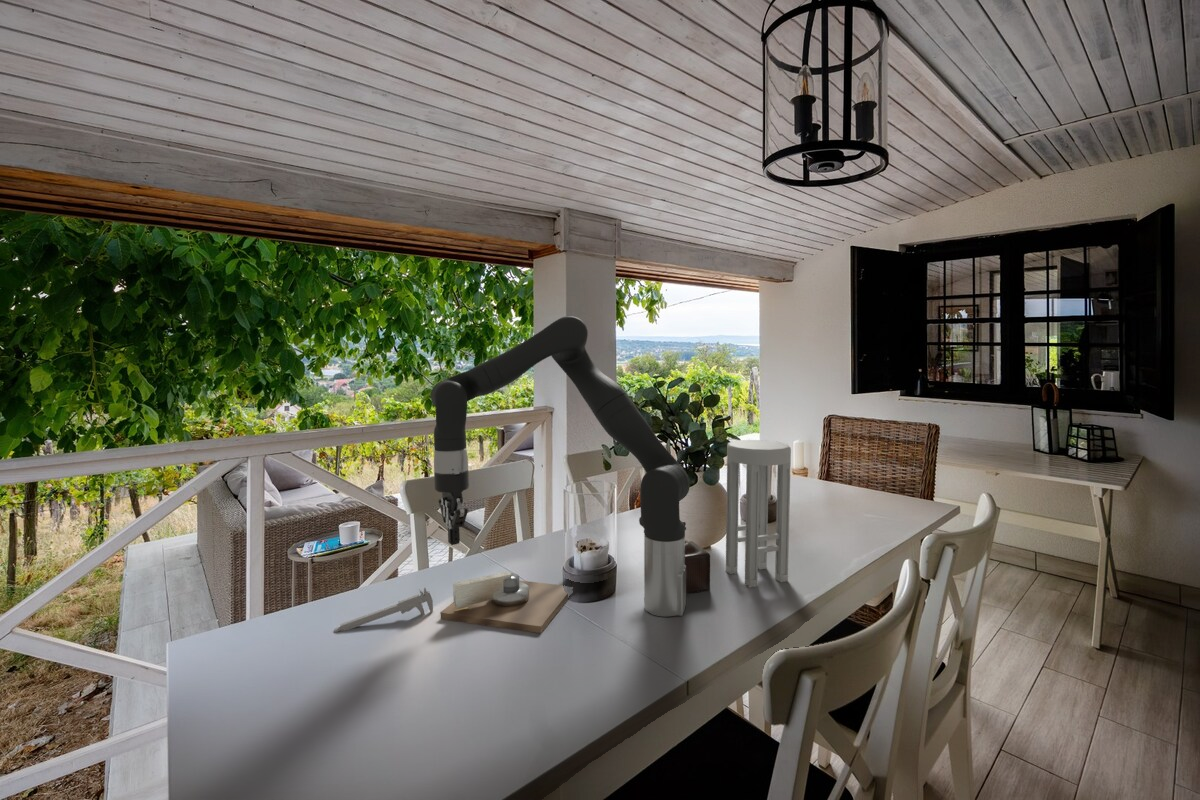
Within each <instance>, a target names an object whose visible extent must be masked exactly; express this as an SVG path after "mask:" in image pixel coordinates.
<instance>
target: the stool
mask: <svg viewBox="0 0 1200 800" xmlns="http://www.w3.org/2000/svg"><path fill="white" fill-rule="evenodd" d="M726 448H727V449H726V450H727V451H726V452H727V453H726V455H727V456H726V512H725V513H726V514H725V515H726V519H725V521H726V523H725V524H726V525H725V527H726V529H725V532H726V533H725V536H726V537H725V572H727V573H728V574H729V573H730V575H733V573H734V574H738V565H739V564H738V562H739V559H738V557H739V555H738V554H739V552H738V551H739V543H742V542H745V543H744V544H745V545H744V546H745V547H744V549H745V551H744V552H745V553H744V554H745V555H744V584H745V585H746V586H747V587H749V588H755V587H758V577H759V576H758V575H759V574H758V572H759V571H758V570H765V569H767V568H768V567H767V566H768V565H767V562H768V553H769V552H770V553H771V552H775V563H774V564H775V566H774V567H775V569H774V570H775V572H774V574H775V575H774V579H775V581H778V582H779V583H784V582H785V583H786V582H788V581H789V545H790V544H789V542H790V504H791V502H790V501H791V498H790V497H791V462H792V461H791V460H792V459H791V458H792V457H791V456H792V455H791V454H792V448H791V447H790V445H789V444H788V443H786V442H785V443H784V442H781V441H775V440H767V439H766V440H765V439H764V440H763V439H739V440H733V441H730V442H727V447H726ZM740 464H743V465H746V483H745V484H746V488H745V489H746V490H745V524H741V525H739V495H740V494H739V493H740V482H739V481H740ZM770 466H777V472H776V473H777V475H776V477H777V479H776V522H775V524H776V528H775V533H770V534H769V533H768V524H769V523H768V522H769V521H768V519H769V517H768V515H769V470H770V469H769V467H770ZM741 531H745V535H741V536H739V532H741ZM771 540H773V541H774V540H775V544H774V545H773V544H771V545H768V541H771Z"/></svg>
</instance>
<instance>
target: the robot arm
mask: <svg viewBox="0 0 1200 800" xmlns="http://www.w3.org/2000/svg"><path fill="white" fill-rule="evenodd" d="M588 333H589V331H588V327H587V325H586V324H585V323H584V321H583V320H582V319H580V318H579V317H576V316H572V315H571V316H570V315H569V316H568V315H567V316H562V317H560V318H558V319H556V320H555V321H553V322H552V323H550V324H548V326H546V327H545V328H543V329H542V330H540V331H539V332H537V333H535V334H534V335H532V336H531V337H529V338H527V339H526V340H524V341H523V342H522V343H519V344H518V345H516V346H514V347H512V348H511V349H508V350H507V351H504V352H502V353H500V354H499V355H497V356H495V357H493V358H489V359H488V360H486V361H484V362H481V363H480V364H478V365H475V366H473V367H472V368H470V369H468V370H466V371H463V372H460V373H459V374H455V375H453V376H450V377H447V378H445V379H442V380H440V381H439V382H437V383H436V384H435V385H434V386H432V389H431V391H430V401H431V403H432V405H433V406H434V407H435V426H434V431H433V444H434V445H433V447H434V450H433V476H434V477H433V479H434V490H435V491H436V492H438V493H442V494H441V496H442V497H441V498H439V499H438V505H439V508H440V513H441V516H442V521H443V523H444V524H445V526H446V529H447V542H448V544H450V545H451V546H453V545H459V544H460V542H461V539H460V528H462V527H464V525H465V521H466V519H467V515H468V512H469V511H468V508H467V507H464V505H465V504H464V503H465V502H464V501H465V499H464V497H463V492H464V491H466V490H468V489H469V486H470V481H469V479H470V478H469V457H468V449H467V433H466V423H467V415H468V402H469V401H471V400H473V399H475V398H477V397H482V396H486V395H489V394H492V393H493V392H495V391H498V390H500V389H502V388H504V387H506V386H508V385H510V384H512V383H514V381H516V380H518V379H519V378H520V377H522V375H524V374H525V373H527V371H529V370H530V369H532V368H533V367H534V366H536V365H537V364H538V363H541V362H542V361H543V360H546V359H548V358H549V357H551V358H552V359H553V360H554V362H555V363H556V364H557V365H558V366H559V367H560V369H561V370H562V371H563V372H564V373H565V374H566V376H567V377H568V378H569V379H570V380H571V382H572V383H573V384H574V386H575V387H576V389H577V390H578V392H579V394H580V396H581V397H582V398H583V400H584V401H585V403H586V404H587V406H588V407H589V409H590V410H591V412H592V413H593V415H594V416H595V418H596V420H597V421H598V423H599V425H601V427H602V428H603V430H604V431H605V432H606V433H607V434H608V435H609V436H610V437H611V438H612V439H613V440H614V441H615V442H617V443H618V444H619V445H620V446H622V447H623V448H625V450H627V451H628V452H630V453H631V454H632V455H633V456H634V457H635V458H636V459H637V461H638V462H639V464H640V465H641V467H642V468H643V470H644V471H645V474H644V475H643V477H642V478H641V482H640V489H639V499H640V501H639V502H640V517H641V521H642V524H643V527H644V528H643V527H642V528H643V534H644V535H643V537H644V538H643V539H644V541H643V543H644V555H643V556H644V558H643V559H644V562H643V564H644V565H643V566H644V567H643V568H644V570H643V571H644V573H643V575H644V576H643V579H644V580H643V581H644V583H643V584H644V587H643V589H644V590H643V591H644V593H643V594H644V597H643V603H644V604H643V607H644V610H645V611H646V612H647V613H649V614H651V615H653V616H658V617H675V616H684V615H683V614H684V611H685V609H686V605H687V594H686V565H685V540H686V530H685V527H686V525H684V523H683V522H682V520H681V517H680V515H681V514H680V501H682V500H683V499H684V498H685V497H687V495H688V494H689V491H690V488H691V487H690V486H691V484H690V479H689V475H688V474H687V471H686V470H685V469H684V467H682V465H681V464H680V463H679V462H678V461H677V460H676V458H674V456H673V455H672V454H671V453H670V452H669V450H668V449H667V448H666V447H665V446H664V444H662V442H661V441H660V440H659V438H658V437H657V436H656V433H654V431H653V430H652V428H651V426H650V425H649V423H648V422H647V421H646V419H645V418H644V416H643V415H642V413H641V412H640V410H639V409H638V408H637V406H636V404H635V403H634V402H633V401H632V399H631V398H630V396H629V395H628V393H627V392H626V391H625V389H624V388H623V387H622V386H621V385H620V384H618V382H616V381H614V380H613V379H612V378H610V377H609V376H607V375H606V374H605V373H603V372H602V371H601V370H600V369H599V368H598V367H597V365H596V364H595V363H594V361H593V359H592V357H591V356H590V355H589V353H588V351H587V350H586V345H587V341H588V337H589V336H588V335H589V334H588Z"/></svg>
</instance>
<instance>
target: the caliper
mask: <svg viewBox="0 0 1200 800" xmlns="http://www.w3.org/2000/svg"><path fill="white" fill-rule="evenodd" d="M419 593H420V595H419V594H415V595H413V596H410V597H407V598H404V599H401V600H399V601H398V602H397V603H396V604H393V605H390V606H388V607H384V608H382V609H380V610H379V609H378V610H376V611H374V612H373V611H372V612H371V613H368V614H364V615H361V616H359V617H357V618H354V619H350V620H348V621H346V622H345V621H344V622H343V623H340V624H339V626H338V627H336V628H334V631H333V632H334V633H338V632H339V631H341V632H343V631H348V630H352V629H355V628H357V627H360V626H362V625H366V624H368V623H370V622H374V621H376V620H379V619H382V618H384V617H387V616H391V615H393V614H395V613H399V612H400V613H401V615H402V614H405V613H407V612H410V611H411V610H413V609H414V608H417V610H418V611H419V613H420V614H421V615H422V616H425V615H426V613H425V609H424V607H423V604H424V603H427V607H428V609H429V612H430V614H433V612H434V605H433V598H432V595H431V593H430V591H429V590H428V591H427V589H426V587H424V588H423V590H421V589H420V588H419Z"/></svg>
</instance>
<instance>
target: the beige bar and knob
mask: <svg viewBox="0 0 1200 800" xmlns="http://www.w3.org/2000/svg"><path fill="white" fill-rule="evenodd" d="M519 580H520V575H519V574H518V573H513V572H512V573H511V572H509V571H503V572H499V573H494V574H489V575H485V576H480V577H475V578H471V579H465V580H461V581H457V582H453V583H452V590H453V591H452V593H453V594H452V595H453V596H452V597H453V602H454V606H455V607H456V608H459V607H463V606H468V605H472V604H476V603H480V602H485V601H489V600H491V602H492V603H494V604H496V605H499V606H515V605H519V604H522V603H524V602H526V601H527V600H528V599H529V597H530V594H529V586H528V585H527V584H525V583H522V582H519Z"/></svg>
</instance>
